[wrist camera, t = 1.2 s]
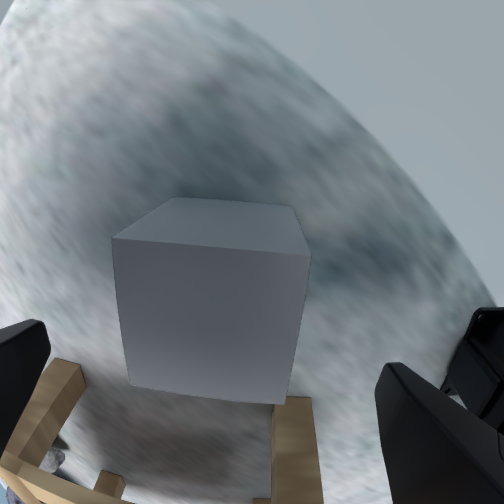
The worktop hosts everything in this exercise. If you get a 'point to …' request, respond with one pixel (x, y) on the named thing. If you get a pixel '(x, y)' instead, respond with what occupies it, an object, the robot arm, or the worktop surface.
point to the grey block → (212, 298)
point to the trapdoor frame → (111, 485)
